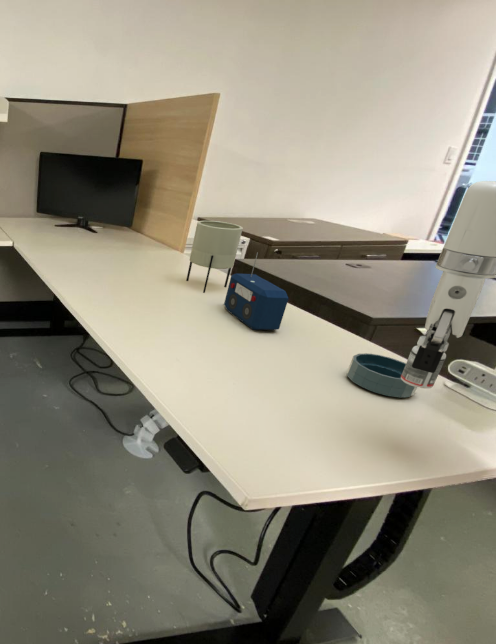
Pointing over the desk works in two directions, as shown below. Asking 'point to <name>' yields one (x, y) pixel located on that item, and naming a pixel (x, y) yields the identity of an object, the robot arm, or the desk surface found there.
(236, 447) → the desk surface
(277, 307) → the radio
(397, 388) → the bowl
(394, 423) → the desk surface
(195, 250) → the planter
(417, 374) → the pill bottle
